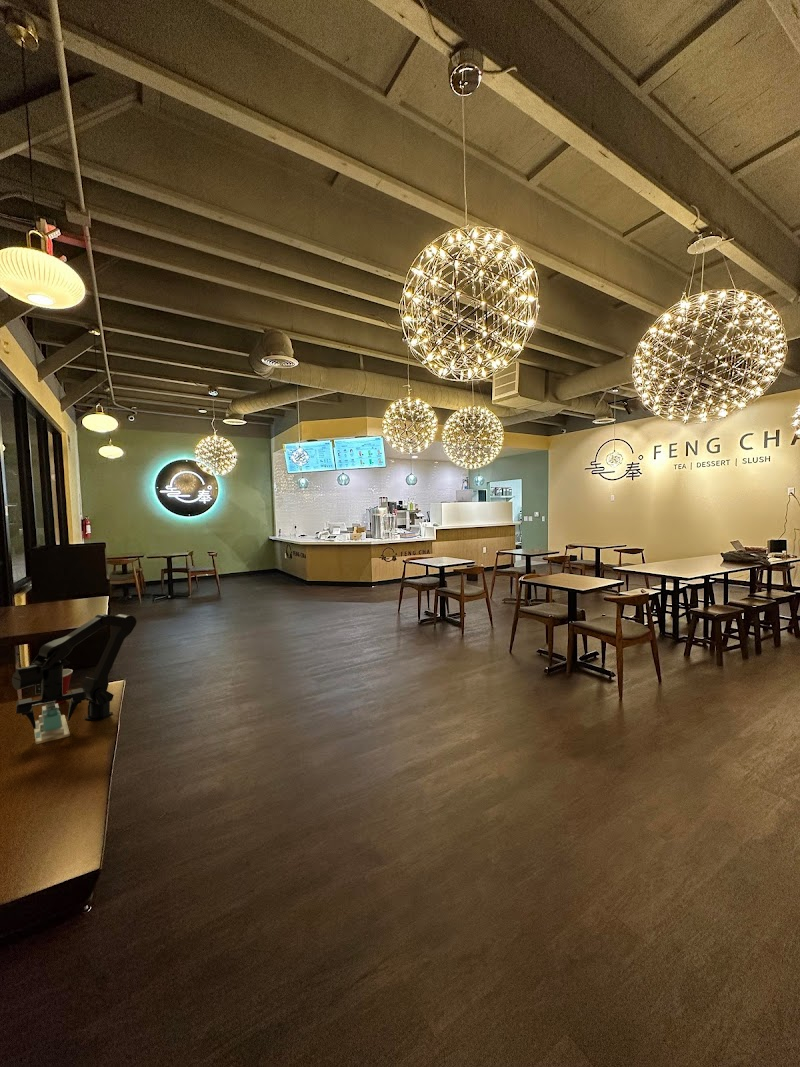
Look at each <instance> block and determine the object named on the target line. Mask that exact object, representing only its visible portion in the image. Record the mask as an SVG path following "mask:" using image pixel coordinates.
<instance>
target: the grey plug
mask: <svg viewBox="0 0 800 1067" xmlns="http://www.w3.org/2000/svg"><path fill="white" fill-rule="evenodd" d="M53 707H56V708H57V711H60V706H59V704H58V703H57V704H55V702H54V703H49V704H45V705H43V706H42V705H41V715H42V723H43V714H47V710H48V709H49V708H53Z"/></svg>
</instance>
